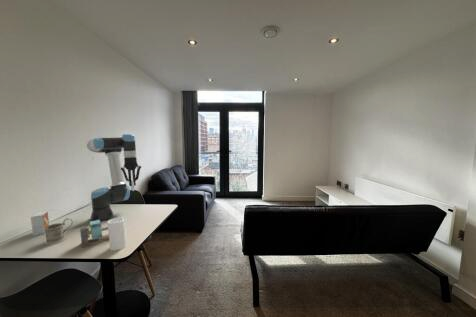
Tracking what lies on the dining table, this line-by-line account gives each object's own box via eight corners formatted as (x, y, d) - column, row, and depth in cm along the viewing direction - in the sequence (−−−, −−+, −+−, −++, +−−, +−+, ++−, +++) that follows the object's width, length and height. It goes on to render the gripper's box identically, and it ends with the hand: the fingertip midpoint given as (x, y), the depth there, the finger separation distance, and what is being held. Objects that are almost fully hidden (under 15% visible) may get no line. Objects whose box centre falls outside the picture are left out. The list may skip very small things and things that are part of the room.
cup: (114, 243, 122) (112, 217, 121) (128, 242, 123) (126, 217, 121) (107, 251, 114) (104, 223, 112) (122, 250, 115) (120, 222, 113)
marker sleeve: (91, 235, 126) (89, 221, 125) (100, 233, 130) (99, 219, 129) (92, 239, 121) (90, 225, 120) (102, 237, 124) (100, 223, 123)
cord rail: (81, 243, 124) (79, 227, 122) (117, 233, 136) (116, 218, 135) (82, 247, 118) (80, 231, 117) (119, 236, 130) (118, 221, 129)
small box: (45, 233, 137) (43, 215, 136) (32, 236, 134) (30, 217, 133) (50, 229, 144) (47, 211, 143) (38, 231, 142) (35, 212, 140)
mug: (48, 246, 120) (45, 227, 119) (42, 242, 125) (40, 223, 124) (77, 236, 132) (75, 218, 131) (71, 232, 138) (69, 215, 136)
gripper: (120, 158, 133) (123, 193, 135) (141, 156, 141) (144, 189, 144) (118, 157, 138) (121, 191, 141) (138, 155, 147) (141, 187, 149)
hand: (133, 190), depth 142 cm, fingers closed
